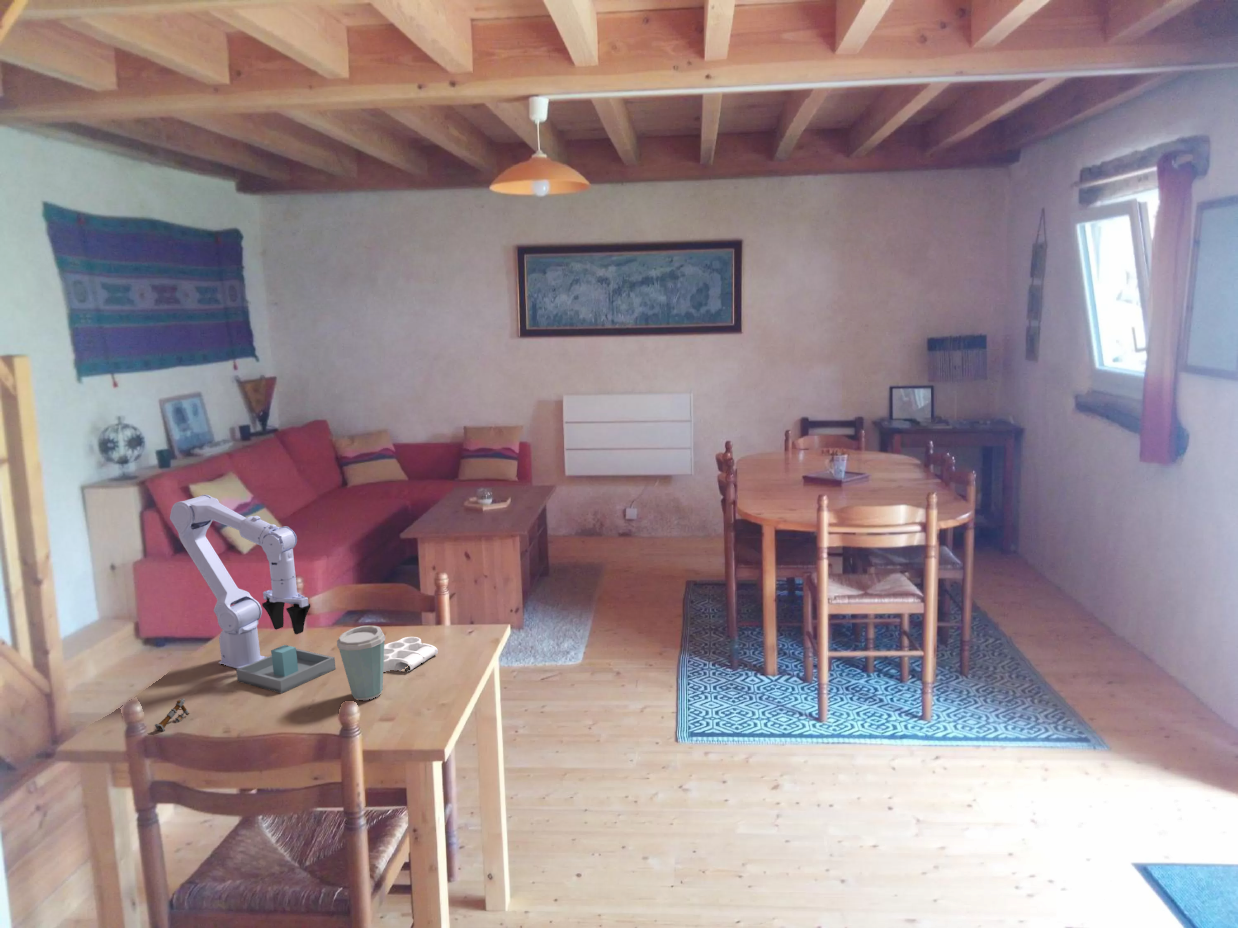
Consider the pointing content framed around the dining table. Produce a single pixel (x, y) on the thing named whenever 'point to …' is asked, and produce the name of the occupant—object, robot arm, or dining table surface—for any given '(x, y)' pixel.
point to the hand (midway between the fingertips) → (288, 630)
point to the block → (284, 660)
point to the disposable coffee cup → (363, 660)
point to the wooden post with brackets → (172, 713)
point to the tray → (307, 670)
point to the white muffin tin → (407, 653)
